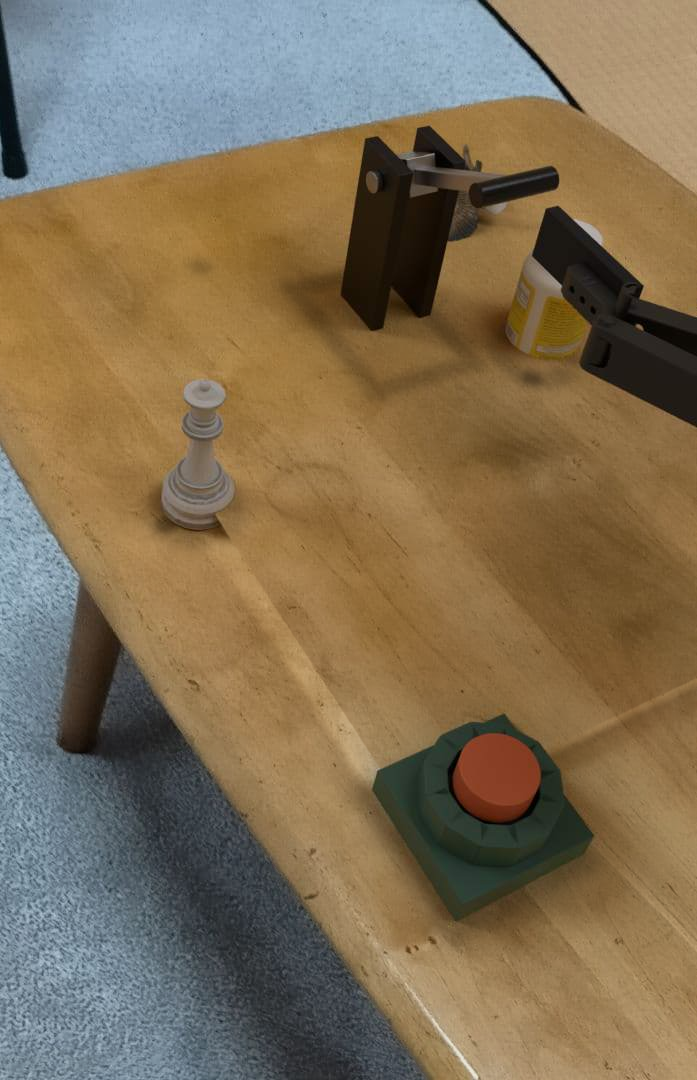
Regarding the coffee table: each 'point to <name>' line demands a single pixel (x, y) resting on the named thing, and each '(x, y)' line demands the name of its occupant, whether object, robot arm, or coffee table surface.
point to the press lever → (477, 181)
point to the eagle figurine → (469, 206)
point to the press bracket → (397, 231)
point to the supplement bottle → (545, 312)
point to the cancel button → (496, 778)
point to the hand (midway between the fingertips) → (650, 203)
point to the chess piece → (199, 463)
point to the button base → (478, 823)
